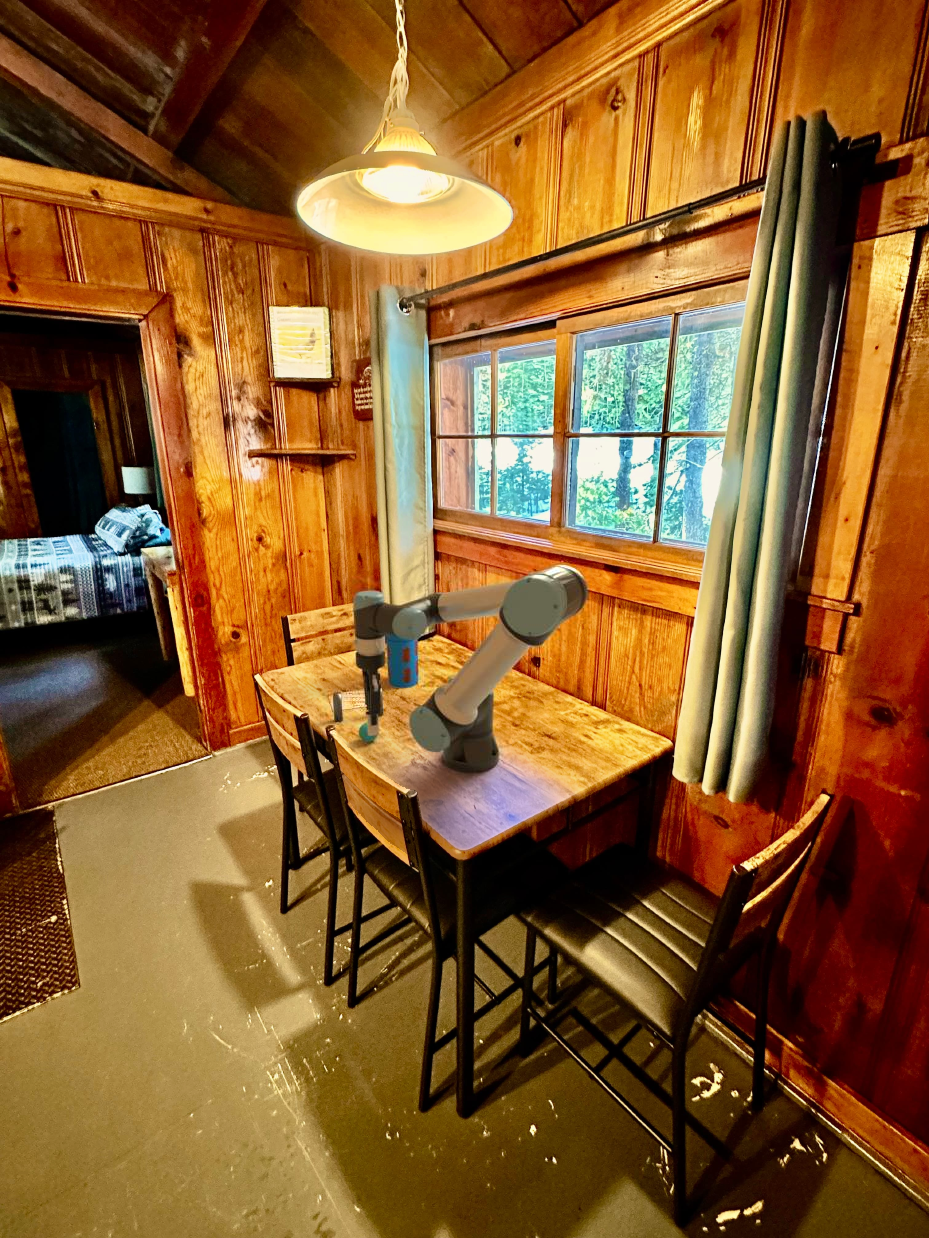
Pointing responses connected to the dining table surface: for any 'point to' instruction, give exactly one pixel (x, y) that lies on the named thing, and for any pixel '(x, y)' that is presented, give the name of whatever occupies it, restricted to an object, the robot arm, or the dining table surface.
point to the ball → (366, 733)
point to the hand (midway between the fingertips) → (373, 733)
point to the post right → (381, 703)
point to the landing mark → (351, 700)
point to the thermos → (402, 661)
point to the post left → (337, 707)
